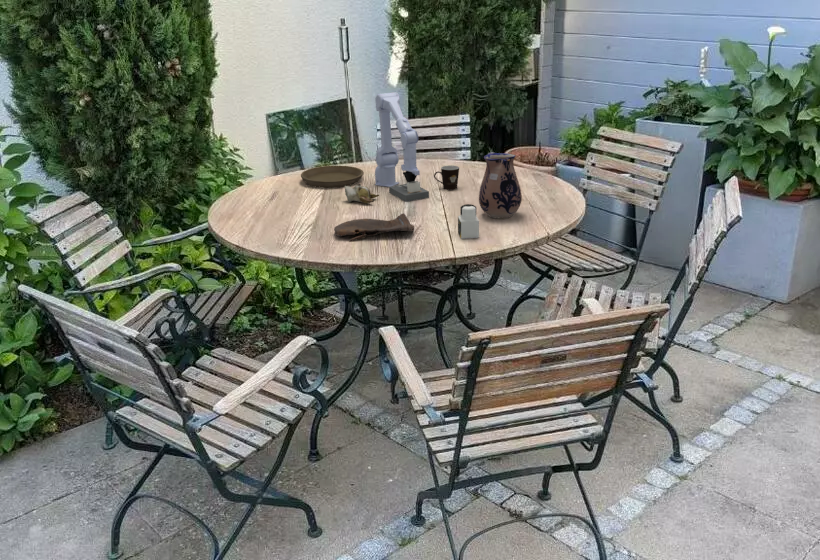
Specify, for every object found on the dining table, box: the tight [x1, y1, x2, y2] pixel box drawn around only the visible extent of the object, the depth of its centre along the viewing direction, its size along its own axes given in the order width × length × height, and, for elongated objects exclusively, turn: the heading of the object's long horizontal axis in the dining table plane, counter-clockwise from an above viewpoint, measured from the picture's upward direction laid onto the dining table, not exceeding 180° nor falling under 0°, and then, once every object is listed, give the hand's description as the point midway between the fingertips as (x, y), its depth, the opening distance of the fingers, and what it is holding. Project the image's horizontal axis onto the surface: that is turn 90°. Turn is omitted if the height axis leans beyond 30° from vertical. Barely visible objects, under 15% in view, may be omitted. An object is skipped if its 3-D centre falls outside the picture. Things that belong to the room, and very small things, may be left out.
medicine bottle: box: [457, 203, 480, 240], centre depth 275 cm, size 7×7×12 cm
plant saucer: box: [300, 165, 364, 189], centre depth 357 cm, size 31×31×5 cm
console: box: [388, 183, 430, 203], centre depth 330 cm, size 17×12×3 cm
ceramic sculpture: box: [344, 183, 380, 204], centre depth 322 cm, size 11×9×15 cm
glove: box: [333, 212, 415, 242], centre depth 283 cm, size 32×20×5 cm, turn 94°
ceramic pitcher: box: [478, 151, 523, 219], centre depth 295 cm, size 18×21×25 cm
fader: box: [406, 180, 421, 193], centre depth 324 cm, size 3×5×4 cm, turn 117°
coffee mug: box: [433, 164, 460, 191], centre depth 337 cm, size 12×9×10 cm
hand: (410, 187), depth 327 cm, fingers closed
